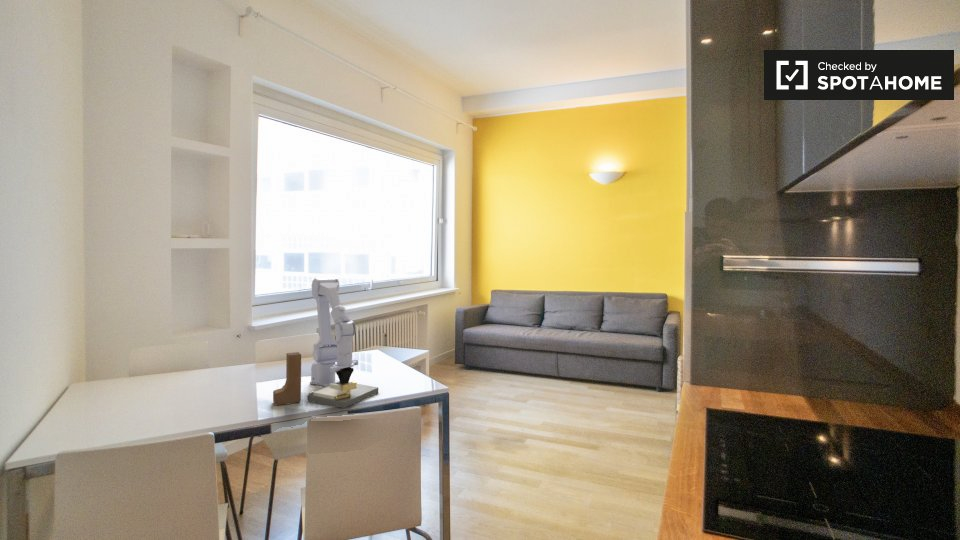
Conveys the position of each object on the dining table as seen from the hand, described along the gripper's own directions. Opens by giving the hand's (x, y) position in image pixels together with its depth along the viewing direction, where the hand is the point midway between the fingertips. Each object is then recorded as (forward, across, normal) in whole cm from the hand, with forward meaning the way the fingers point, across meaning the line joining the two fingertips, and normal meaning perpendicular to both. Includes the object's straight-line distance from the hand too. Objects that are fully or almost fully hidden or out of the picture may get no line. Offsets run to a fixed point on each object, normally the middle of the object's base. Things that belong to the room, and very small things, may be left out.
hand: (344, 386), depth 196 cm
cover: (+1, -7, 0) cm, 7 cm away
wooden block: (+3, -18, +12) cm, 21 cm away
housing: (+3, -2, -2) cm, 4 cm away
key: (+1, -8, -7) cm, 11 cm away
